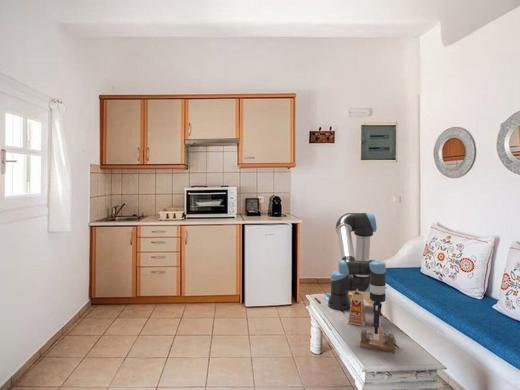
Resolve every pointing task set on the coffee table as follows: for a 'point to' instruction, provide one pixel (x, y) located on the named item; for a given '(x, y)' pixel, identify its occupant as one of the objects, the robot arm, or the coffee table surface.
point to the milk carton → (357, 309)
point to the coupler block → (379, 337)
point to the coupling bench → (386, 347)
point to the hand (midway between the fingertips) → (377, 333)
